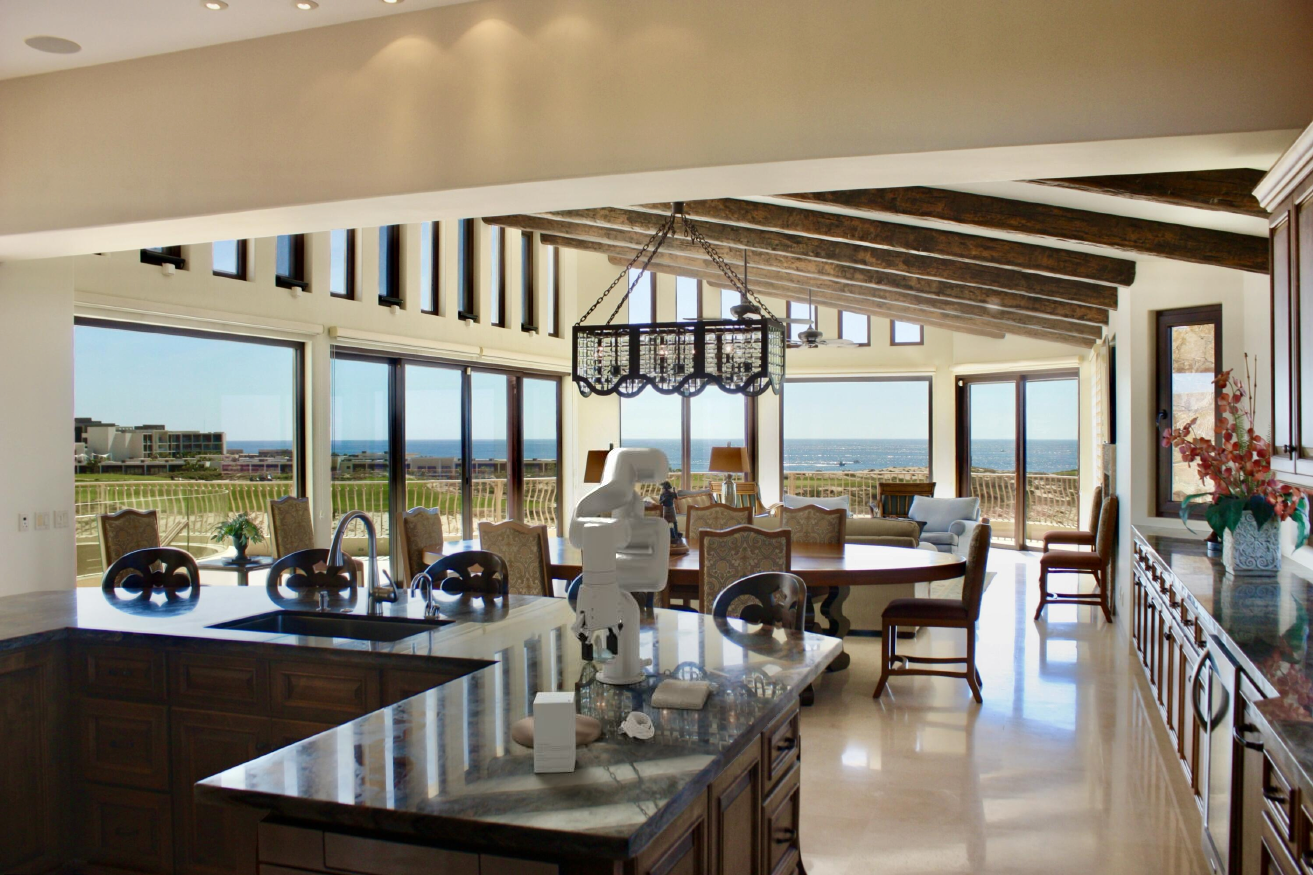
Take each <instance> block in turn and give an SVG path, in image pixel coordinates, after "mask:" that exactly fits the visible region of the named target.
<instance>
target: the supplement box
mask: <svg viewBox="0 0 1313 875" xmlns="http://www.w3.org/2000/svg"><path fill="white" fill-rule="evenodd" d="M532 708H533V710H532V711H533V712H532V713H533V715H532V716H534V747H533V770H534V773H535V774H539V773H574V770H575V766H576V759H577V756H576V755H577V754H576V753H577V749H576V748H577V746H576V745H575V714H576V692H575V691H550V692H549V691H547V692H544V691H543V692H540V691H539V692H536V695H535V698H534V701H533V702H532Z"/></svg>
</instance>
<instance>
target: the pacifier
mask: <svg viewBox="0 0 1313 875" xmlns="http://www.w3.org/2000/svg"><path fill="white" fill-rule="evenodd" d="M593 643H594V644H593V645H594V647H596V648H595V649H593V661H594V663H595V664H596V665H601V666H602V665H611V664H614V663H616V662H617V658H616V657H614V656H612V653H611V652H610V651H609V650H608V649H605V648H602V637H601V636H600V634H596V635H595V636H594V637H593ZM608 659H612V661H610V662H606V661H607V660H608Z"/></svg>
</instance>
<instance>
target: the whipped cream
mask: <svg viewBox="0 0 1313 875" xmlns="http://www.w3.org/2000/svg"><path fill="white" fill-rule="evenodd" d="M624 733H626V734H627V735H628V736H629V738H631V739H632V738H633V737H635V738H637V739H641V740H646V739H649V738H652V737H654V735H655V727H654V726H653V722H652V721H651V718H650V716H648V715H647V714H646V713H644V712H642V711H631V712H630V713H629V714H628V716H627V718H626V721H625V720H623V721H622V722H621V724H620V726H619V727H618V729H617V734H624Z"/></svg>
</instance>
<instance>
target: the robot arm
mask: <svg viewBox="0 0 1313 875" xmlns="http://www.w3.org/2000/svg"><path fill="white" fill-rule="evenodd" d="M669 474H670V461H669V458H668V456H667V454H666V453H665V452H664V451H663V450H660V449H658V448H656V447H648V446H647V447H643V446H642V447H639V446H637V447H633V446H629V447H628V446H627V447H625V446H624V447H617V448H613V449H611V451H609V453H608V454H607V456H606V458H605V461H604V466H603V469H602V474H601V477H600V480H599V481H600V482H599V485H598V486H597V487H595V488H594V489H592V490H590V492H588V493H586V494H585V496H583V497H582V498H581V499H580V500H579V501H578V502H577V504H576V505H575V507H574V509H573V512H572V516H571V519H570V523H569V527H568V528H569V529H568V540H569V542H570V545H571V546H572V547H573V548H575V549H577V550H580V551H581V550H582V584H580V585H579V588H578V592H577V599H576V610H575V621H574V623H572V626H571V627H570V630H571V632H572V633H573V635H574V637H576V638H577V640H578V642H579V643H581V660H582V661H585V662H589V663H592V662H593V661H594V660H593V651H594V644H593V643H592V639H593V638H594V637H593V636H594V634H595V632H596V631H600V630H601V633H602V634H601V642H602V648H605V649H608V650H609V651H610V652H611V653H612V656H614V657H616V658H617V662H616V663H614V664H611V665H602V664H601V670H599V671H598V672H595V679H596V680H597V681H599V682H601V683H603V684H608V685H609V684H610V685H628V684H629V685H630V684H637V683H640V682H643V681H644V680H646V678H647V674H646V671H643V669H644V668H645V667H650V666H652V665H653V663H654V662H653V659H652V658H651V657H648V658H644V659H643V658H641V657H640V654H641V653H640V652H641V649H640V645H641V644H640V639H641V638H640V633H641V632H640V626H641V625H640V622H641V620H640V619H641V618H640V614H641V612H640V606H639V604H638V602H637V600H636V599H635V597H634V596H633V595H632V594H631V592H632V593H634V592H641V593H642V592H645V593H646V592H648V593H649V592H651V593H655V592H660V591H661V592H662V590H664V589H665V588H666V586H667V583H668V577H669V576H668V575H669V565H670V564H669V562H670V549H671V529H670V525H669V522H668V521H667V520H666V519H665V518H663V517H661V516H645V506H646V505H645V501H644V499H643V498H642V495H640V493H639V492H638V491H637V490H636V489H635V484H663V483H665V481H666V480H667V479H668V477H669ZM610 512H611V517H601V515H603V514H605V513H610ZM599 516H600V517H599ZM610 661H612V659H608V660H607V661H606V662H610Z"/></svg>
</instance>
